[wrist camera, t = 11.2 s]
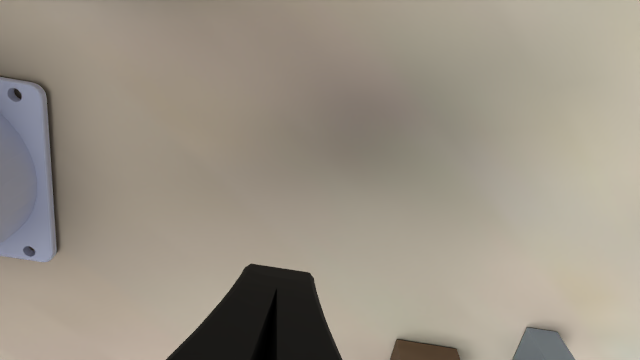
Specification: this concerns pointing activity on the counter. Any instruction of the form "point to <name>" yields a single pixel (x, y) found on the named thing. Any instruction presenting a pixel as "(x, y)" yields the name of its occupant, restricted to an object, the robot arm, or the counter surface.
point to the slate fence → (542, 346)
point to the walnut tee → (422, 352)
